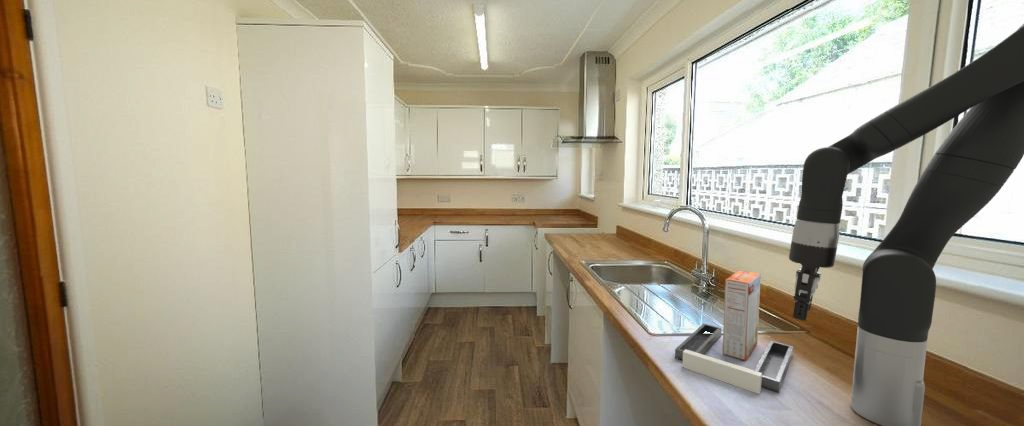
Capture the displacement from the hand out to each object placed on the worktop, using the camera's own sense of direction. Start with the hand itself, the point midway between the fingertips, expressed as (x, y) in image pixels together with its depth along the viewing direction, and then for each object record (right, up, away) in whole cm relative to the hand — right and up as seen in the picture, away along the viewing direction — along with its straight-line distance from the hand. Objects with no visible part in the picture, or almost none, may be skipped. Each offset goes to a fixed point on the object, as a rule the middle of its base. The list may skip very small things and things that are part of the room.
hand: (801, 313), depth 78 cm
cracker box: (-1, -16, +20) cm, 26 cm away
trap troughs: (-5, -16, +16) cm, 23 cm away
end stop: (-15, -17, +6) cm, 23 cm away
